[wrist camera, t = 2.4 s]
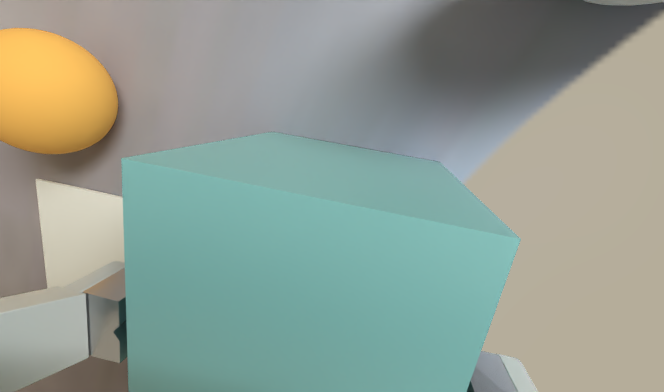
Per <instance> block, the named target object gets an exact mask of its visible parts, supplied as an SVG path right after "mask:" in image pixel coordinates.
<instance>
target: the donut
mask: <svg viewBox="0 0 664 392" xmlns="http://www.w3.org/2000/svg"><path fill="white" fill-rule="evenodd" d="M584 1H586V2H590V3H596V4H601V5H625V6H633V5H643V4H653V3H663V2H664V0H584Z"/></svg>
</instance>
